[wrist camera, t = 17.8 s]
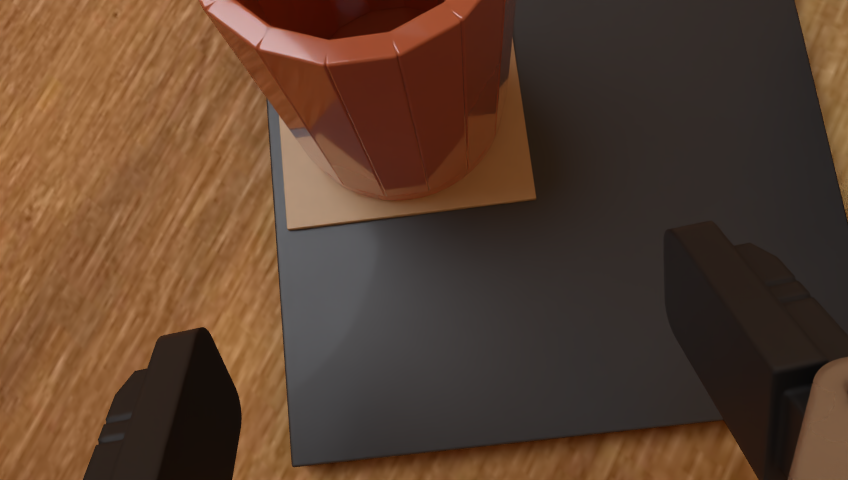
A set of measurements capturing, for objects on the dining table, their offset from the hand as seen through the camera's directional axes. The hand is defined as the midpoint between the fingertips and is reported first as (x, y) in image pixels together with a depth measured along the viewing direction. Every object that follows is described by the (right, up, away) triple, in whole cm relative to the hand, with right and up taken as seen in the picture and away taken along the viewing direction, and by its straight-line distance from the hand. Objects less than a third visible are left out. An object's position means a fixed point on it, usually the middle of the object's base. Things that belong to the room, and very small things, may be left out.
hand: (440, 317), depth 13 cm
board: (+3, +3, +9) cm, 10 cm away
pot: (-1, +5, +9) cm, 11 cm away
